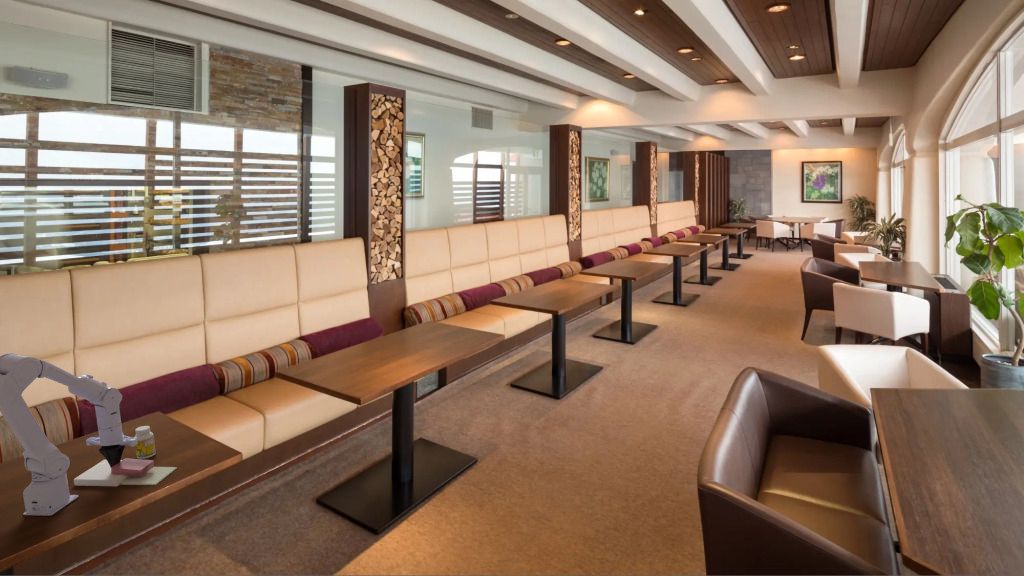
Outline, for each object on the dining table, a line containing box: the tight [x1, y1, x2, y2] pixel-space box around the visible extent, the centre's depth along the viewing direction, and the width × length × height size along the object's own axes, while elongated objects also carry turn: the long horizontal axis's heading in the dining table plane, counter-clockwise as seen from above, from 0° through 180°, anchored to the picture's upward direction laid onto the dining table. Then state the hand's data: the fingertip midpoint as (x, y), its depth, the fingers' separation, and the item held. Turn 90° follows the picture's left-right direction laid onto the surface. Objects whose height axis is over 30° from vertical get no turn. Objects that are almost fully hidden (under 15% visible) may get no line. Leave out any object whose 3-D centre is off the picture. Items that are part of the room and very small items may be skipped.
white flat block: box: [73, 459, 130, 487], centre depth 171 cm, size 12×13×2 cm
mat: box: [120, 466, 178, 486], centre depth 171 cm, size 10×11×1 cm
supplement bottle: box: [133, 425, 157, 460], centre depth 183 cm, size 5×5×10 cm
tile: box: [111, 457, 155, 476], centre depth 171 cm, size 6×9×2 cm, turn 88°
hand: (115, 467), depth 171 cm, fingers closed
